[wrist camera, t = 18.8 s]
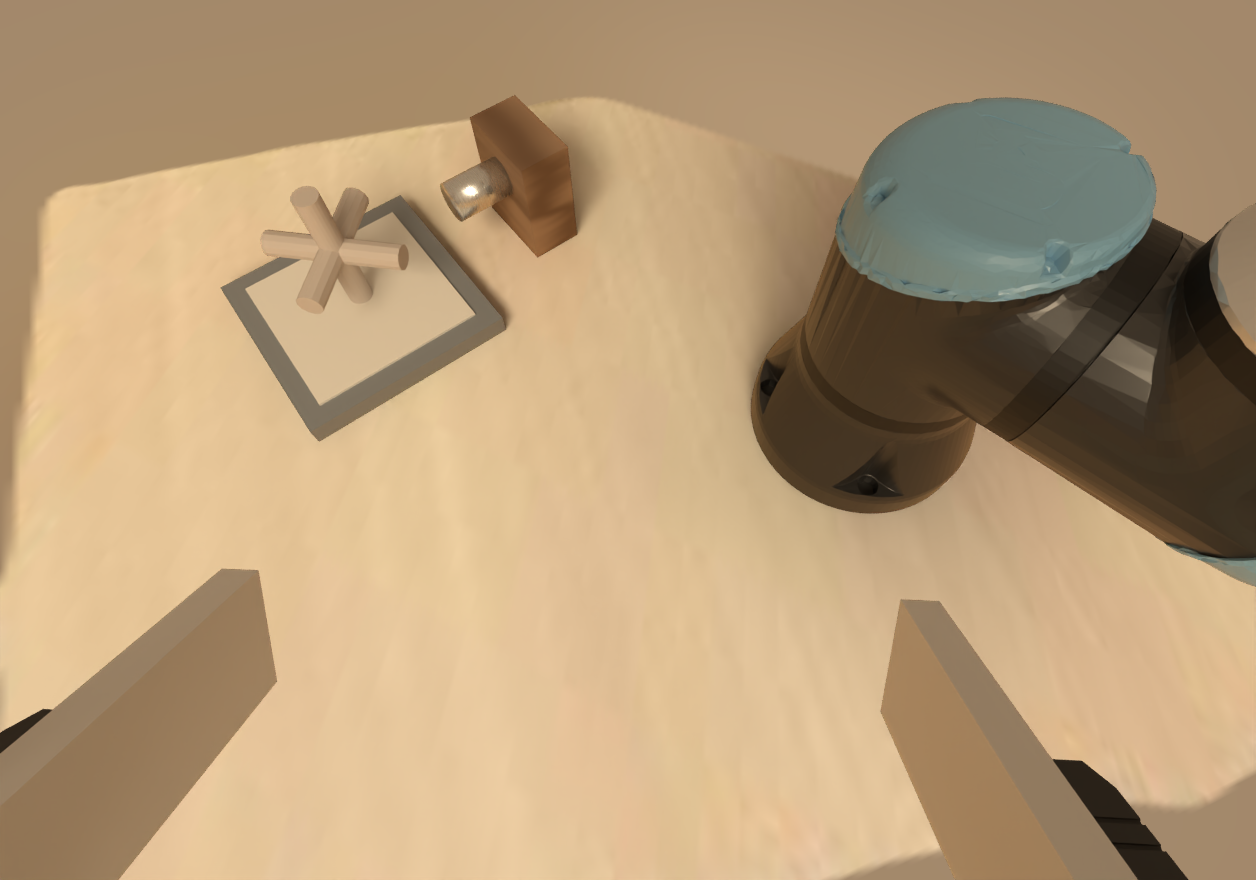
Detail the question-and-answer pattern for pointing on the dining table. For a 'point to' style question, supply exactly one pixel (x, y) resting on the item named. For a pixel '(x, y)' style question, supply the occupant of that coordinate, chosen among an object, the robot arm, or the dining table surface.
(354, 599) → the dining table surface
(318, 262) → the pipe connector
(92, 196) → the dining table surface
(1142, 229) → the robot arm
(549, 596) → the dining table surface
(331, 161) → the dining table surface
